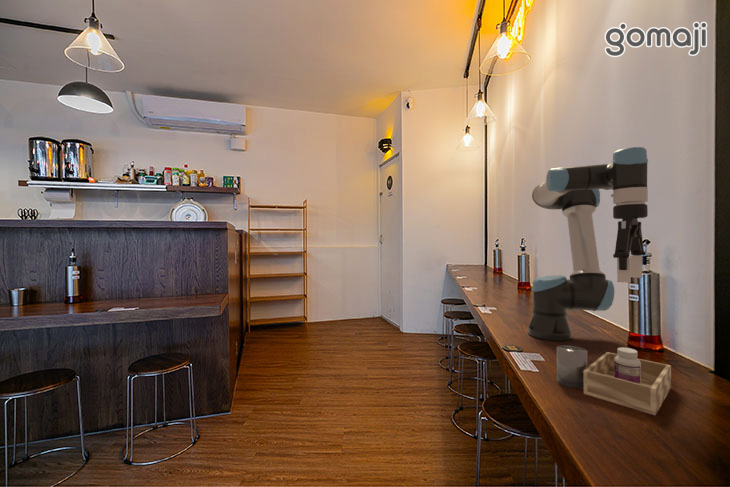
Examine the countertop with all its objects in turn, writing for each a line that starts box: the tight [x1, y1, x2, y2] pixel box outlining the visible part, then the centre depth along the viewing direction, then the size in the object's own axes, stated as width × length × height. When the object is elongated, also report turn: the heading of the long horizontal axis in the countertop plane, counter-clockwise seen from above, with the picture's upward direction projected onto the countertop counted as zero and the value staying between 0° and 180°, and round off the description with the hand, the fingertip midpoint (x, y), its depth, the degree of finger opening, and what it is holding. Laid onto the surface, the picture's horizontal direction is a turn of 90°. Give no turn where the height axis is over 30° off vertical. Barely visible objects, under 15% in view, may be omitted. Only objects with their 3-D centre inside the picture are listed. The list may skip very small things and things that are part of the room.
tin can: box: [556, 344, 588, 389], centre depth 88 cm, size 7×7×9 cm
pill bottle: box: [614, 347, 641, 384], centre depth 83 cm, size 5×5×10 cm
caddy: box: [583, 351, 672, 416], centre depth 83 cm, size 20×14×6 cm
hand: (630, 279), depth 93 cm, fingers open, 13 cm apart
